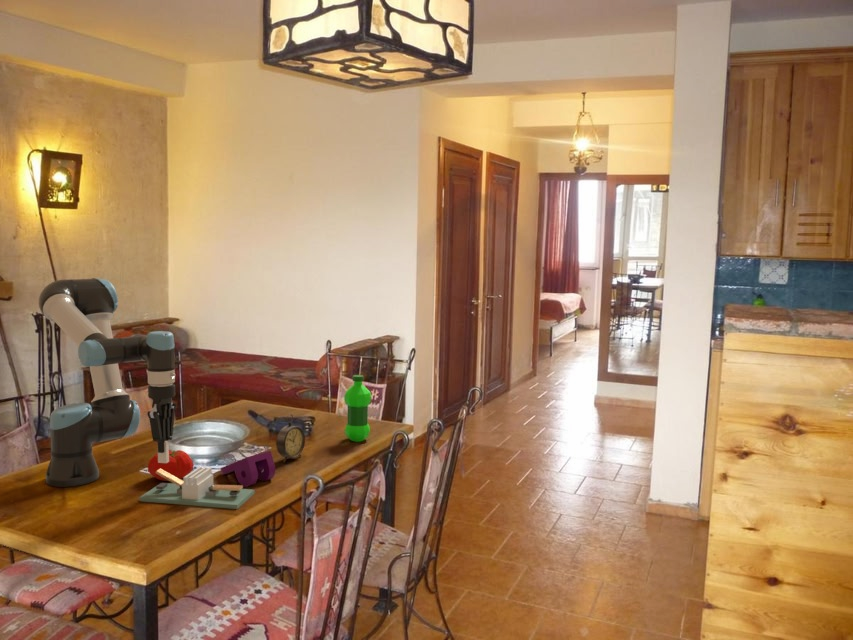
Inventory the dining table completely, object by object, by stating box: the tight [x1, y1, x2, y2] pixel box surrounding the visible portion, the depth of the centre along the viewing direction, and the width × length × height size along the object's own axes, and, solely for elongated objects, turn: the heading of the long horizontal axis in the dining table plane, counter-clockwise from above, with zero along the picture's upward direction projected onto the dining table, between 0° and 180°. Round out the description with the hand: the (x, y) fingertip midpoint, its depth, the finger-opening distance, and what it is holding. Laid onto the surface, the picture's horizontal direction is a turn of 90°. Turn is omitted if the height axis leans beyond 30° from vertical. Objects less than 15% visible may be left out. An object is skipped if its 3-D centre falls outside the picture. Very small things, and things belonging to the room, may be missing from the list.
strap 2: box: [208, 483, 244, 491], centre depth 217 cm, size 10×3×1 cm, turn 81°
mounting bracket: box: [220, 450, 276, 487], centre depth 236 cm, size 9×8×18 cm
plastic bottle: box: [343, 374, 372, 443], centre depth 283 cm, size 10×10×25 cm
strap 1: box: [156, 468, 184, 488], centre depth 219 cm, size 10×3×1 cm, turn 82°
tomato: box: [147, 449, 195, 482], centre depth 235 cm, size 14×13×9 cm
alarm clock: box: [275, 413, 306, 464], centre depth 257 cm, size 11×5×16 cm, turn 150°
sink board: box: [138, 466, 255, 510], centre depth 218 cm, size 30×13×8 cm, turn 81°
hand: (163, 462), depth 219 cm, fingers closed
